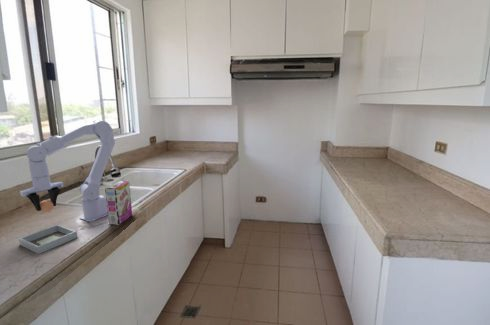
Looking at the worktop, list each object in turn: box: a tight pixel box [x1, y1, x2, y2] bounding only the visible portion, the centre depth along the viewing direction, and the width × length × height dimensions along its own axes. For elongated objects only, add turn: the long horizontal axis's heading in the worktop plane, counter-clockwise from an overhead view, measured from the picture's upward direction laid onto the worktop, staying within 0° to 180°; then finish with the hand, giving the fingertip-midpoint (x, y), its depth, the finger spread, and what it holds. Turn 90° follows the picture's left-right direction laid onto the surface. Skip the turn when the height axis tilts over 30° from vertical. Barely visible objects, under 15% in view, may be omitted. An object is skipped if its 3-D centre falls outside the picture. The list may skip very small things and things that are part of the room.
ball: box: [39, 199, 54, 213], centre depth 109 cm, size 5×5×5 cm
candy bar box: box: [104, 180, 133, 226], centre depth 117 cm, size 11×5×16 cm, turn 174°
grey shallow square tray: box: [18, 224, 78, 255], centre depth 100 cm, size 13×13×2 cm
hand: (46, 207), depth 110 cm, fingers closed on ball, 5 cm apart
